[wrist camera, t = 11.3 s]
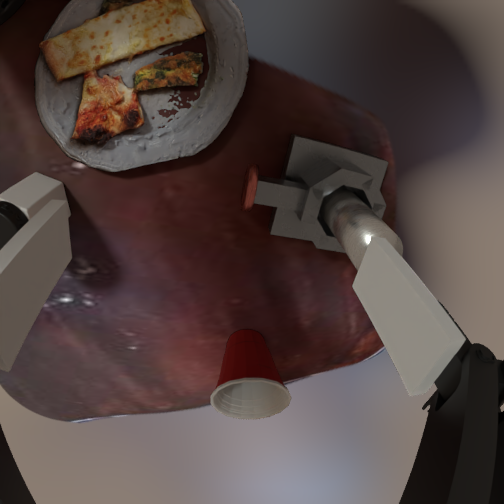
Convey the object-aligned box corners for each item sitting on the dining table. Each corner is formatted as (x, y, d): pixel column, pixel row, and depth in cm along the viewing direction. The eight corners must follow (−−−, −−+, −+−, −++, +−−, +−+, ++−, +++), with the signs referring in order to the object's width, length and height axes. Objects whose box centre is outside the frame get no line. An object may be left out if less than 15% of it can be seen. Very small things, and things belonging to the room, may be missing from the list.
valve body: (253, 125, 34) (260, 134, 28) (381, 158, 37) (409, 173, 31) (233, 221, 39) (235, 248, 33) (353, 241, 42) (373, 269, 36)
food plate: (61, 184, 35) (49, 193, 31) (33, 18, 23) (19, 14, 20) (257, 142, 35) (262, 147, 32) (232, -39, 24) (234, -51, 21)
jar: (77, 229, 38) (37, 279, 27) (32, 236, 38) (-11, 283, 27) (60, 165, 33) (8, 198, 23) (15, 178, 33) (-39, 213, 23)
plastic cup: (197, 348, 49) (194, 409, 39) (238, 305, 46) (243, 369, 35) (250, 372, 53) (256, 430, 43) (292, 335, 50) (308, 395, 39)
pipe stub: (317, 175, 35) (365, 226, 23) (352, 183, 36) (410, 236, 24) (308, 210, 37) (347, 275, 25) (341, 217, 38) (390, 281, 26)
